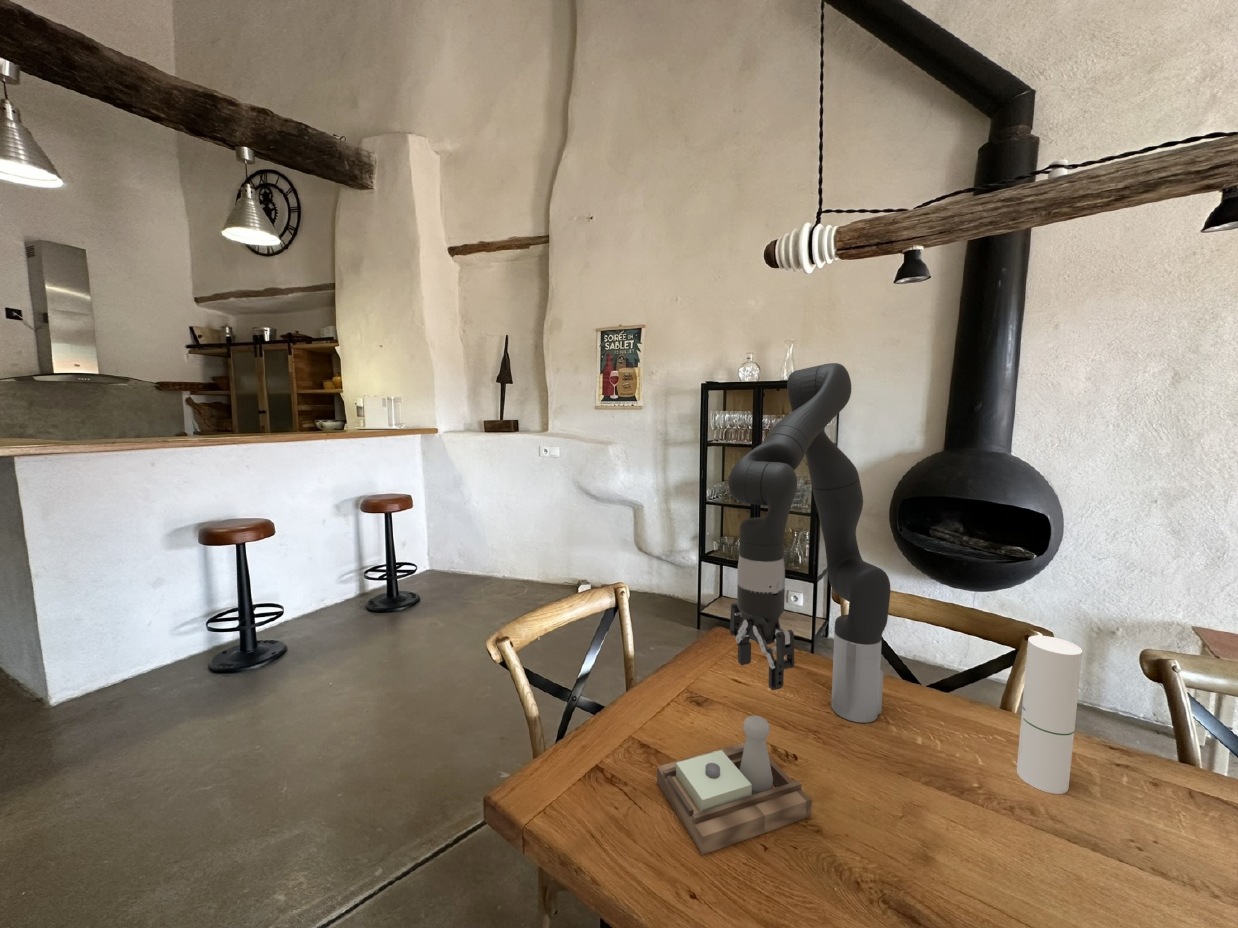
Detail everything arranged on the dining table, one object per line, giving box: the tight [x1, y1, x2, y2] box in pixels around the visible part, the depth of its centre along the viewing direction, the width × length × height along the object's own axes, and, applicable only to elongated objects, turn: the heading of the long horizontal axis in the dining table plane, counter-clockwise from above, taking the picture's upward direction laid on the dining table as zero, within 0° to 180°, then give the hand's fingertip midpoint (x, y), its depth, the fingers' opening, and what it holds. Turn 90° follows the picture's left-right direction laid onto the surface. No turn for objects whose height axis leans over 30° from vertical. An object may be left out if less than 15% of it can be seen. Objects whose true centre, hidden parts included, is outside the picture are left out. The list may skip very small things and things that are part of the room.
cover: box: [676, 750, 752, 812], centre depth 86 cm, size 9×9×4 cm
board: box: [656, 742, 812, 856], centre depth 88 cm, size 20×16×4 cm
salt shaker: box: [739, 715, 774, 796], centre depth 89 cm, size 6×6×13 cm
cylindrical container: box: [1016, 635, 1083, 795], centre depth 91 cm, size 7×7×25 cm
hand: (759, 675), depth 87 cm, fingers open, 8 cm apart
